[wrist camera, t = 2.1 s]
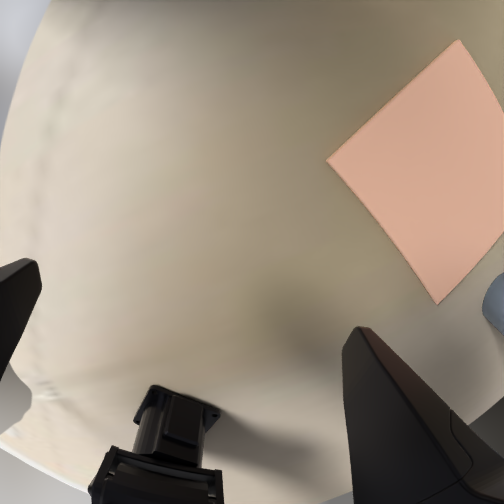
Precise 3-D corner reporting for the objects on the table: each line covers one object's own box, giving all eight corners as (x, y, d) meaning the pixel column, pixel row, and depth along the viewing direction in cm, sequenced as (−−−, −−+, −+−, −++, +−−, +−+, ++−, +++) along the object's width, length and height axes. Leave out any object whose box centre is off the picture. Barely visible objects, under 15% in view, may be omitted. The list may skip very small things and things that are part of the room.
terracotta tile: (434, 301, 20) (437, 304, 20) (325, 161, 16) (327, 161, 16) (530, 188, 17) (534, 189, 16) (455, 40, 13) (459, 39, 13)
